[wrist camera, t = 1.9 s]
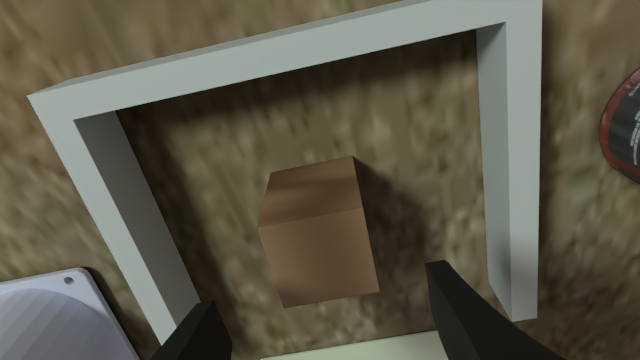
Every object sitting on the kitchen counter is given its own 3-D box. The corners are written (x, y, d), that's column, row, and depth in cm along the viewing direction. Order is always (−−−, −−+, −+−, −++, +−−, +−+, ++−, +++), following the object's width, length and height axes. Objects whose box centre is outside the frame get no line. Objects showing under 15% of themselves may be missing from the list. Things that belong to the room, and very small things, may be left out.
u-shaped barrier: (193, 332, 24) (178, 376, 21) (71, 78, 18) (27, 95, 15) (510, 277, 22) (537, 317, 20) (504, -24, 16) (543, -26, 13)
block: (291, 239, 21) (284, 308, 17) (271, 172, 20) (256, 228, 15) (366, 225, 21) (379, 291, 16) (352, 155, 19) (362, 207, 15)
